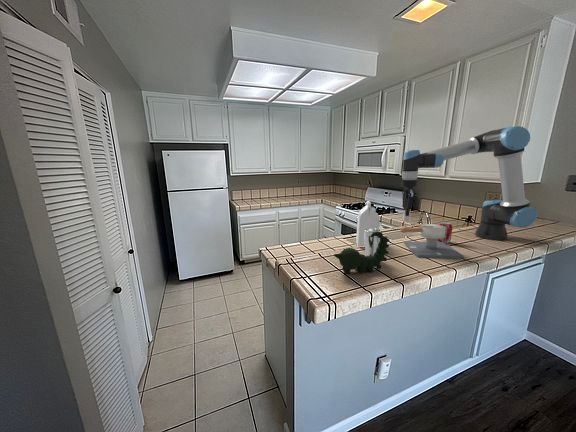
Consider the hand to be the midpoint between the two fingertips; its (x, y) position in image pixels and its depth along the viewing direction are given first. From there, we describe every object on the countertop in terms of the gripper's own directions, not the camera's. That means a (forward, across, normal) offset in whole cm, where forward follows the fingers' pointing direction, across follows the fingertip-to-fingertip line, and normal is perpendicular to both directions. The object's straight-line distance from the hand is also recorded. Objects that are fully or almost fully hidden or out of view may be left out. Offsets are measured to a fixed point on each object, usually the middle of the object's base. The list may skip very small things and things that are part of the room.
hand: (405, 221), depth 129 cm
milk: (+15, -1, -21) cm, 26 cm away
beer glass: (+15, +22, -23) cm, 35 cm away
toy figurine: (+15, +36, -30) cm, 49 cm away
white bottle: (+6, +8, +6) cm, 12 cm away
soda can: (+15, -8, +24) cm, 29 cm away
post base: (+15, +8, +11) cm, 20 cm away
